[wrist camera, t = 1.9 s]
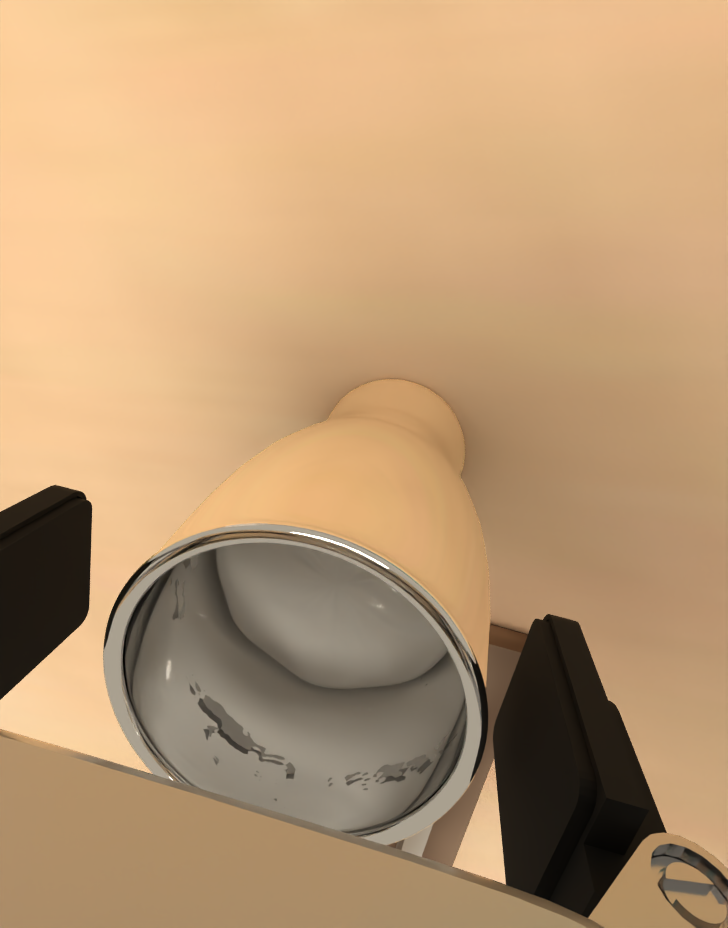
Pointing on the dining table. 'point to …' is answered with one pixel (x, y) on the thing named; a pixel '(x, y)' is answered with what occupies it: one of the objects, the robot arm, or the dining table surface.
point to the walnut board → (451, 827)
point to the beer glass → (319, 626)
